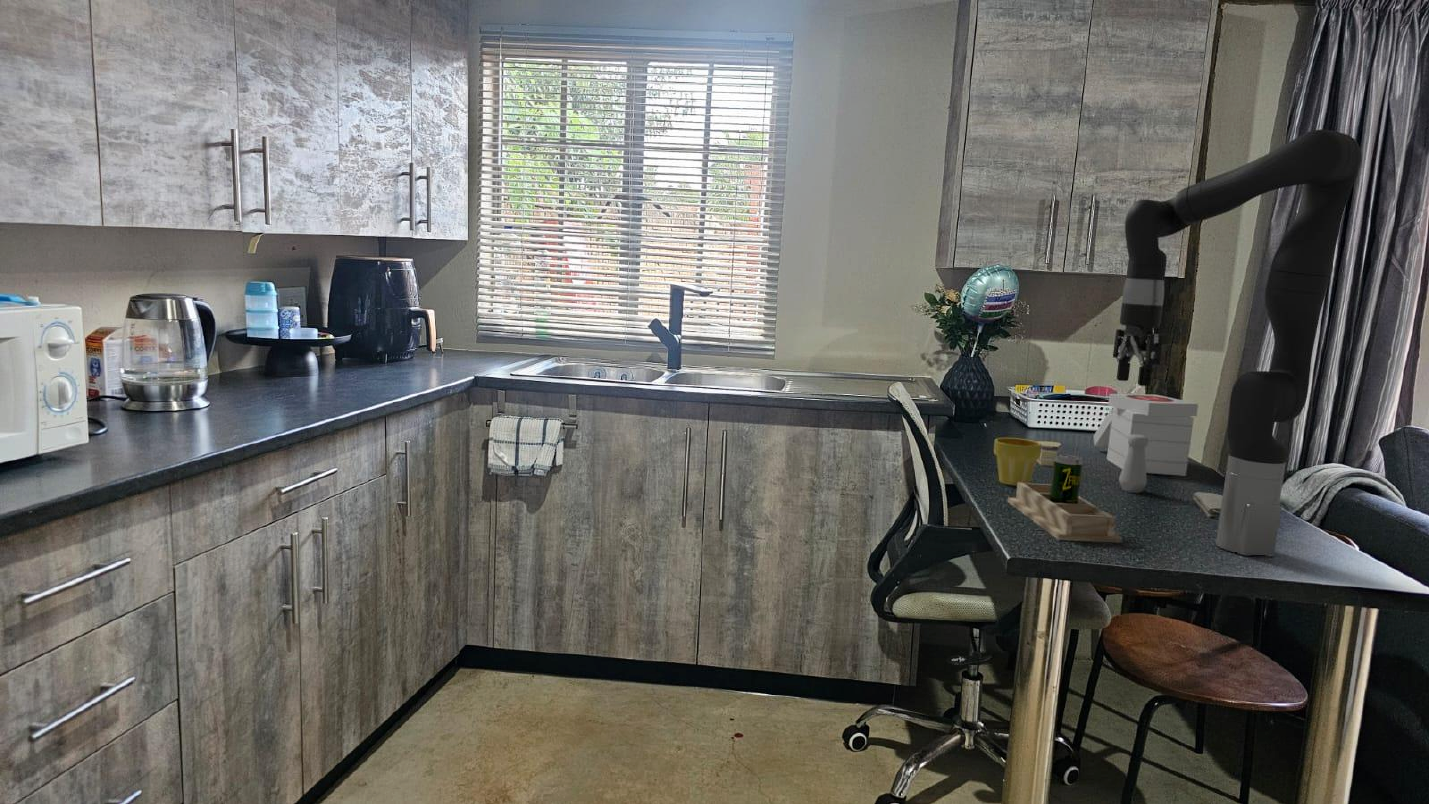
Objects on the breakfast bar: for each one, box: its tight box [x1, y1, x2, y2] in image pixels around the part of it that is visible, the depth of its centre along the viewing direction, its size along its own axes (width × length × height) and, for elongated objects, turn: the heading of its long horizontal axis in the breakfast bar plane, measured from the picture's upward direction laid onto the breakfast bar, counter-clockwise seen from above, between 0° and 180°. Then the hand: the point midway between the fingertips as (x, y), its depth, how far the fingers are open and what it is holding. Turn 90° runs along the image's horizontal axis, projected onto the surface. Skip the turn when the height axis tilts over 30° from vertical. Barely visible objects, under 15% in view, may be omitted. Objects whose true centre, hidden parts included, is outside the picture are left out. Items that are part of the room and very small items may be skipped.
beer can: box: [1049, 453, 1084, 504], centre depth 192 cm, size 5×5×12 cm
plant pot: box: [993, 437, 1042, 487], centre depth 224 cm, size 10×10×10 cm
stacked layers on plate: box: [1036, 440, 1061, 467], centre depth 250 cm, size 10×9×6 cm
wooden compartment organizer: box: [1007, 482, 1123, 544], centre depth 193 cm, size 27×12×4 cm, turn 3°
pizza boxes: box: [1093, 393, 1199, 477], centre depth 258 cm, size 19×30×18 cm, turn 176°
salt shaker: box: [1118, 434, 1148, 494], centre depth 224 cm, size 6×6×13 cm
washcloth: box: [1192, 491, 1223, 520], centre depth 210 cm, size 12×18×3 cm, turn 165°
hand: (1132, 383), depth 197 cm, fingers open, 8 cm apart
